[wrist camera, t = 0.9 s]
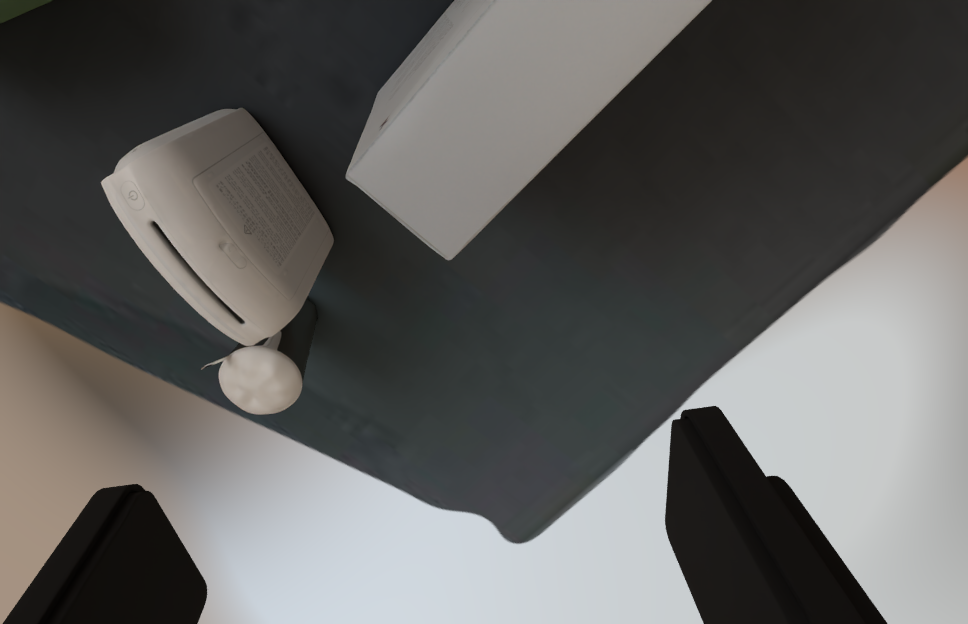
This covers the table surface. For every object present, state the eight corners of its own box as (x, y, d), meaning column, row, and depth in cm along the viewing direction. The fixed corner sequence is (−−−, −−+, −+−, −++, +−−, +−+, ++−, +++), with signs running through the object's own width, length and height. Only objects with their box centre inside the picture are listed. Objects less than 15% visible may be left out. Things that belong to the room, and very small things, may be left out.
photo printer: (183, 128, 32) (51, 192, 21) (243, 92, 31) (138, 139, 21) (291, 269, 37) (228, 379, 26) (345, 240, 36) (304, 342, 25)
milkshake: (283, 262, 37) (233, 343, 28) (341, 315, 39) (311, 406, 30) (236, 300, 38) (174, 389, 29) (295, 350, 40) (254, 447, 31)
